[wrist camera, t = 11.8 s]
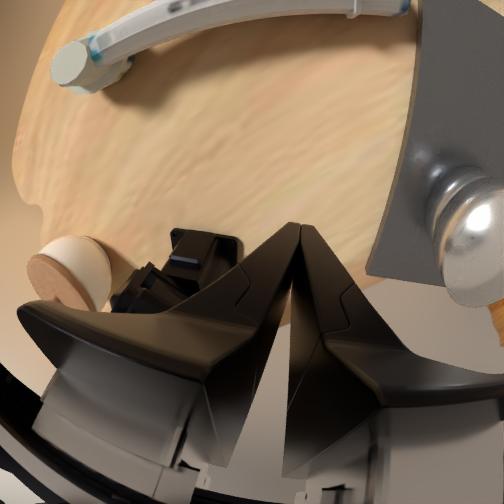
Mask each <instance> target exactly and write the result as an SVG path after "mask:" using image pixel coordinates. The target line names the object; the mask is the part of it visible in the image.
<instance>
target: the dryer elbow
mask: <svg viewBox="0 0 504 504" xmlns="http://www.w3.org/2000/svg"><path fill="white" fill-rule="evenodd" d="M432 252H433V257H434V260H435V263H436V265H437V267H438V270H439V272H440V274H441V276H442V279H443V281H444V283H445V286H446V288H447V291H448V293H449V295H450V296H451V298H452V299H453V300H454V301H455V302H457V303H458V304H460V305H462V306H466V307H483V306H487V305H490V304H492V303H495V302H497V301H499V300H501V299H502V298H504V180H503V179H500V178H497V177H483V178H479V179H476V180H474V181H472V182H470V183H468V184H467V185H465V186H464V187H462V188H461V189H460V190H459V191H458V192H457V193H456V194H455V195H454V196H453V197H452V198H451V199H450V200H449V201H448V203H447V204H446V206H445V207H444V209H443V210H442V212H441V214H440V216H439V218H438V221H437V223H436V226H435V229H434V233H433V239H432Z"/></svg>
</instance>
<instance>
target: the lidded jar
mask: <svg viewBox="0 0 504 504" xmlns="http://www.w3.org/2000/svg"><path fill="white" fill-rule="evenodd" d="M110 268H111V265H110V260H109V258H108V256H107V254H106V252H105V251H104V249H103V248H102V247H101V246H100V245H99V244H98V243H97V242H96V241H94V240H93V239H91V238H89V237H86V236H81V237H80V236H74V235H68V236H63V237H60V238H57V239H55V240H54V241H52V242H50V243H49V244H47V245H46V246H45V247H43V248H42V249H41V250H40V251H39V252H38V253H37V254H36V255H34V256H33V257H32V258H31V259H30V260H29V261H28V264H27V273H28V276H29V279H30V282H31V284H32V286H33V288H34V289H35V291H36V293H37V294H38V295H39V297H40V298H41V300H51V301H54V302H57V303H60V304H62V305H64V306H67V307H70V308H73V309H78V310H84V311H92V312H101V311H102V309H103V308H104V306H105V304H106V302H107V300H108V297H109V294H110V290H111V284H112V276H111V270H110Z"/></svg>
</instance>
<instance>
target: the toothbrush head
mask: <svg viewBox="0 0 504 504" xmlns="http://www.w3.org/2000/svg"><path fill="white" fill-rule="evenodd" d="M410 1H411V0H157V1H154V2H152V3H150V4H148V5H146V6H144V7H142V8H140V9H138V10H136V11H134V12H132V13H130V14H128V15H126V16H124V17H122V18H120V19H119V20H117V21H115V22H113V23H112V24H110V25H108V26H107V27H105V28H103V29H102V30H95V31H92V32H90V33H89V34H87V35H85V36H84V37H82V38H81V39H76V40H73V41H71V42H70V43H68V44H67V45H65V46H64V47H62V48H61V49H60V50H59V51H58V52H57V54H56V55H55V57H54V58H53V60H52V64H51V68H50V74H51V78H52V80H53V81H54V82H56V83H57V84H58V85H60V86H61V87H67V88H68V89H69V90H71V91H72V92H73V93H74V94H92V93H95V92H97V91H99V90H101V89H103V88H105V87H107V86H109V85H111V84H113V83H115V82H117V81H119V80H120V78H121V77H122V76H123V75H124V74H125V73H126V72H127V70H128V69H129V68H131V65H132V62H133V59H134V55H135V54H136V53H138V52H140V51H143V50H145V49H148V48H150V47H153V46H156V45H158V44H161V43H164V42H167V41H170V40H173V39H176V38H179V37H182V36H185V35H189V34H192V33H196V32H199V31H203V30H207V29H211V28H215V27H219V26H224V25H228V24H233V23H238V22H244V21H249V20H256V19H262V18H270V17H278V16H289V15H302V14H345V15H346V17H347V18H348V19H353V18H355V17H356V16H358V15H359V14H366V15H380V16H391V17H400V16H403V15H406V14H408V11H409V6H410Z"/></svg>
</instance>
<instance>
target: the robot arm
mask: <svg viewBox="0 0 504 504" xmlns="http://www.w3.org/2000/svg"><path fill="white" fill-rule="evenodd" d="M175 233H177V235H176V234H175ZM170 236H171V242H172V249H173V251H172V253H171V254H170V256H169V259H168V261H167V262H166V263H165V265H164V266H163V268H162V269H161V271H160V270H158V269H157V268H156V267H154V266H155V265H153V264H152V263H151V262H149V263H148V264H147V265H146V266H145V268H144V267H143V266H142V268H141V269H140V270H137V269H135V270H134V272H133V273H132V274H131V276H130V277H129V278H128V280H127V281H126V282H125V283H124V284H123V285H122V286H121V287H120V288H119V289H118V290H117V291H116V292H115V293H114V294H113V296H112V297H111V299H110V304H111V308H112V310H111V313H107V312H92V311H84V310H78V309H73V308H70V307H67V306H64V305H62V304H60V303H57V302H54V301H51V300H37V301H31V302H28V303H26V304H23V305H22V306H20V307H19V308H18V309H17V316H18V319H19V321H20V323H21V324H22V326H23V327H24V329H25V330H26V332H27V333H28V334H29V335H30V337H31V338H32V339H33V341H34V342H35V343H36V345H37V346H38V347H39V348H40V350H41V351H42V352H43V353H44V355H45V356H46V357H47V358H48V359H49V360H50V361H51V363H52V364H53V365H54V366H55V367H56V368H57V370H56V372H55V373H54V375H53V377H52V379H51V380H50V382H49V384H48V386H47V387H46V389H45V391H44V393H43V395H42V397H40V396H39V395H37V394H36V393H35V392H33V391H32V390H31V389H29V388H28V387H27V386H26V385H24V384H23V383H22V382H21V381H19V380H18V379H17V378H16V377H14V376H13V375H12V374H11V373H10V372H9V371H8V370H7V369H6V368H5V367H4V366H3V365H2V364H1V363H0V468H1V469H3V470H6V471H8V472H10V473H13V474H14V475H15V476H16V477H17V478H18V479H19V480H20V481H21V482H22V483H23V484H25V485H26V486H27V487H28V488H29V489H30V490H31V491H33V492H34V493H35V494H36V495H37V496H39V497H40V498H41V499H42V500H44V501H45V503H36V504H282V503H273V502H264V501H258V500H252V499H246V498H239V497H235V496H230V495H225V494H221V493H217V492H213V491H209V490H208V489H209V486H210V482H211V478H210V477H209V476H208V475H207V474H206V473H207V469H208V466H209V464H212V465H216V466H220V467H224V468H226V467H227V466H228V463H229V460H230V458H231V456H232V453H233V451H234V448H235V446H236V443H237V441H238V438H239V436H240V433H241V431H242V428H243V426H244V423H245V420H246V418H247V415H248V413H249V410H250V407H251V404H252V402H253V399H254V396H255V394H256V391H257V388H258V385H259V383H260V380H261V377H262V374H263V372H264V369H265V366H266V363H267V360H268V357H269V354H270V351H271V348H272V345H273V342H274V339H275V336H276V333H277V330H278V327H279V324H280V321H281V318H282V315H283V312H284V309H285V306H286V302H287V299H288V296H289V293H290V289H291V285H292V289H291V330H290V331H291V332H290V360H289V382H288V400H287V416H286V430H285V443H284V444H285V445H284V456H283V468H282V477H283V478H292V479H305V480H307V483H306V489H305V491H304V492H297V494H296V498H295V503H294V504H504V435H503V427H502V421H503V420H504V374H486V373H480V372H475V371H471V370H467V369H463V368H459V367H455V366H452V365H448V364H445V363H441V362H438V361H434V360H431V359H427V358H424V357H421V356H418V355H416V354H414V353H413V352H412V351H410V350H409V349H408V348H407V347H406V346H405V345H404V344H403V343H402V341H401V340H400V339H399V338H398V337H397V335H396V334H395V333H394V332H393V330H392V329H391V328H390V327H389V326H388V324H387V323H386V322H385V321H384V320H383V319H382V317H381V316H380V315H379V314H378V312H377V311H376V310H375V309H374V307H373V306H372V305H371V304H370V303H369V301H368V300H367V298H366V297H365V296H364V294H363V293H362V292H361V290H360V289H359V287H358V286H357V284H355V282H354V280H353V279H352V277H351V276H350V275H349V273H348V272H347V270H346V269H345V267H344V266H343V265H342V263H341V262H340V261H339V259H338V258H337V256H336V255H335V254H334V252H333V251H332V250H331V248H330V247H329V246H328V244H327V243H326V242H325V240H324V239H323V238H322V236H321V235H320V234H319V232H318V231H317V230H316V228H315V227H314V226H312V225H306V224H302V225H301V224H299V223H294V222H288V223H287V224H286V225H284V226H283V227H282V228H281V229H280V230H278V231H277V232H276V233H275V234H274V235H272V236H271V237H270V238H269V239H267V240H266V241H265V242H264V243H263V244H261V245H260V246H259V247H258V248H257V249H255V250H254V251H253V252H252V253H251V254H249V255H248V256H247V257H246V258H244V259H243V260H242V261H241V262H240V263H238V239H237V238H236V237H233V236H227V235H220V234H214V233H210V232H203V231H196V230H186V229H179V228H174V229H173V230H172V231H171V232H170ZM230 241H233V242H234V243H231V242H230ZM292 279H293V280H292ZM0 504H5V503H4V502H3V501H2V500H0Z"/></svg>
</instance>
